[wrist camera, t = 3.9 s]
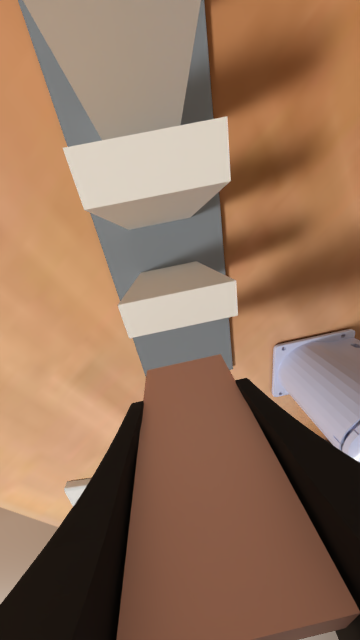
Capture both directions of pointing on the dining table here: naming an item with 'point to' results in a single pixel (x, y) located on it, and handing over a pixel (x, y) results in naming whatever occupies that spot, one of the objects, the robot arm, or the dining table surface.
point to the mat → (161, 239)
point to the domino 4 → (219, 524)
